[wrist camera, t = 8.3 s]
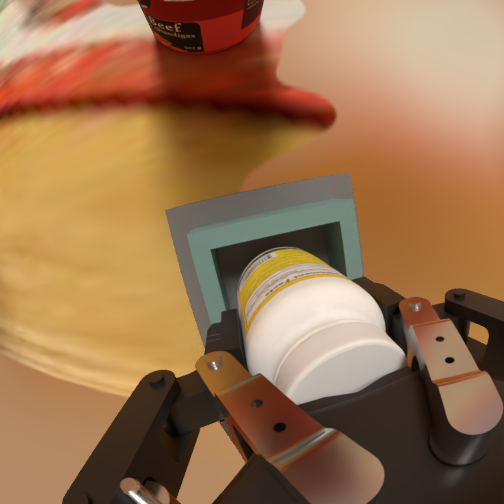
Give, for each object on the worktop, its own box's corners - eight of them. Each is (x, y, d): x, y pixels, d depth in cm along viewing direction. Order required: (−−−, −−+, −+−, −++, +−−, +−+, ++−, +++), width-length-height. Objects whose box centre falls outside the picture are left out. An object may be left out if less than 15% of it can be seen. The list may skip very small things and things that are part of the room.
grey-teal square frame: (168, 209, 17) (152, 213, 13) (343, 173, 18) (371, 169, 14) (213, 365, 20) (212, 398, 16) (361, 327, 20) (384, 352, 16)
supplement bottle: (320, 329, 17) (394, 440, 7) (235, 331, 16) (246, 465, 7) (332, 246, 16) (448, 308, 6) (238, 242, 15) (258, 319, 6)
